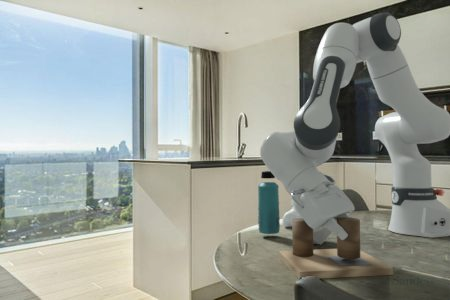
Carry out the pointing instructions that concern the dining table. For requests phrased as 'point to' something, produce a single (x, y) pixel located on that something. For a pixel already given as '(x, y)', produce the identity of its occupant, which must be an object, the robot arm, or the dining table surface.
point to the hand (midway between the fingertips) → (351, 235)
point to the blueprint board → (326, 258)
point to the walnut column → (349, 238)
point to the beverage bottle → (268, 206)
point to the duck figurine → (290, 216)
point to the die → (320, 235)
